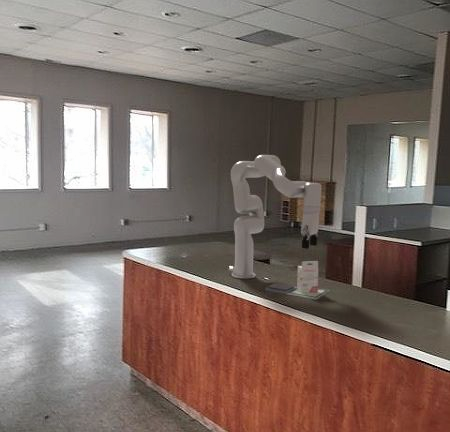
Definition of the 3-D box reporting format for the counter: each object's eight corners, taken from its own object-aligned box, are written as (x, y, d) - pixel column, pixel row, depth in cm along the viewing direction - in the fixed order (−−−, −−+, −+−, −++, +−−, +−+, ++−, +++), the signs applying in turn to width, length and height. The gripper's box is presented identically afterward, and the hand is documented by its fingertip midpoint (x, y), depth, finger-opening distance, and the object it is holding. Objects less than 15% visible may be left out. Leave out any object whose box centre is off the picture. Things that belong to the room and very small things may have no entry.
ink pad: (265, 290, 228) (265, 286, 228) (274, 286, 237) (274, 282, 237) (286, 294, 223) (286, 290, 222) (295, 289, 231) (295, 286, 231)
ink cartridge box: (313, 289, 230) (314, 258, 229) (317, 292, 226) (319, 261, 224) (296, 290, 228) (297, 259, 226) (300, 293, 223) (301, 261, 222)
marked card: (286, 294, 223) (286, 292, 222) (301, 286, 237) (301, 285, 237) (315, 299, 215) (315, 298, 215) (329, 291, 230) (329, 289, 230)
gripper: (311, 207, 231) (308, 243, 233) (296, 210, 216) (294, 248, 219) (326, 209, 227) (323, 245, 229) (312, 212, 213) (309, 250, 215)
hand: (309, 246), depth 224 cm, fingers open, 9 cm apart
